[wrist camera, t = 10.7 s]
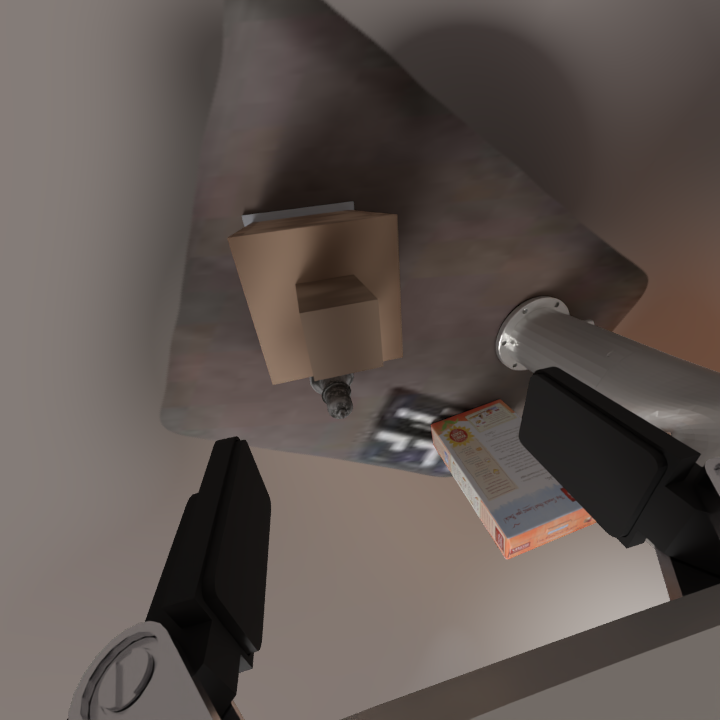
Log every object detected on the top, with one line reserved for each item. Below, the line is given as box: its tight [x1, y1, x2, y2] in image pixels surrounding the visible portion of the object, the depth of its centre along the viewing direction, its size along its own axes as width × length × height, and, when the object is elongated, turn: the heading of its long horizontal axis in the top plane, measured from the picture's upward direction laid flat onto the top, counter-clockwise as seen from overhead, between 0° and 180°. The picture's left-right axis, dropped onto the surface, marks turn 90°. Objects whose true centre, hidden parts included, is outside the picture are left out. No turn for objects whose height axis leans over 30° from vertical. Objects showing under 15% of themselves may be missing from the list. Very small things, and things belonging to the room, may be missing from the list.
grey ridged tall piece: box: [310, 373, 354, 419], centre depth 36 cm, size 6×6×12 cm
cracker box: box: [431, 399, 596, 559], centre depth 45 cm, size 14×6×21 cm, turn 103°
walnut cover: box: [227, 210, 403, 385], centre depth 25 cm, size 11×11×22 cm
